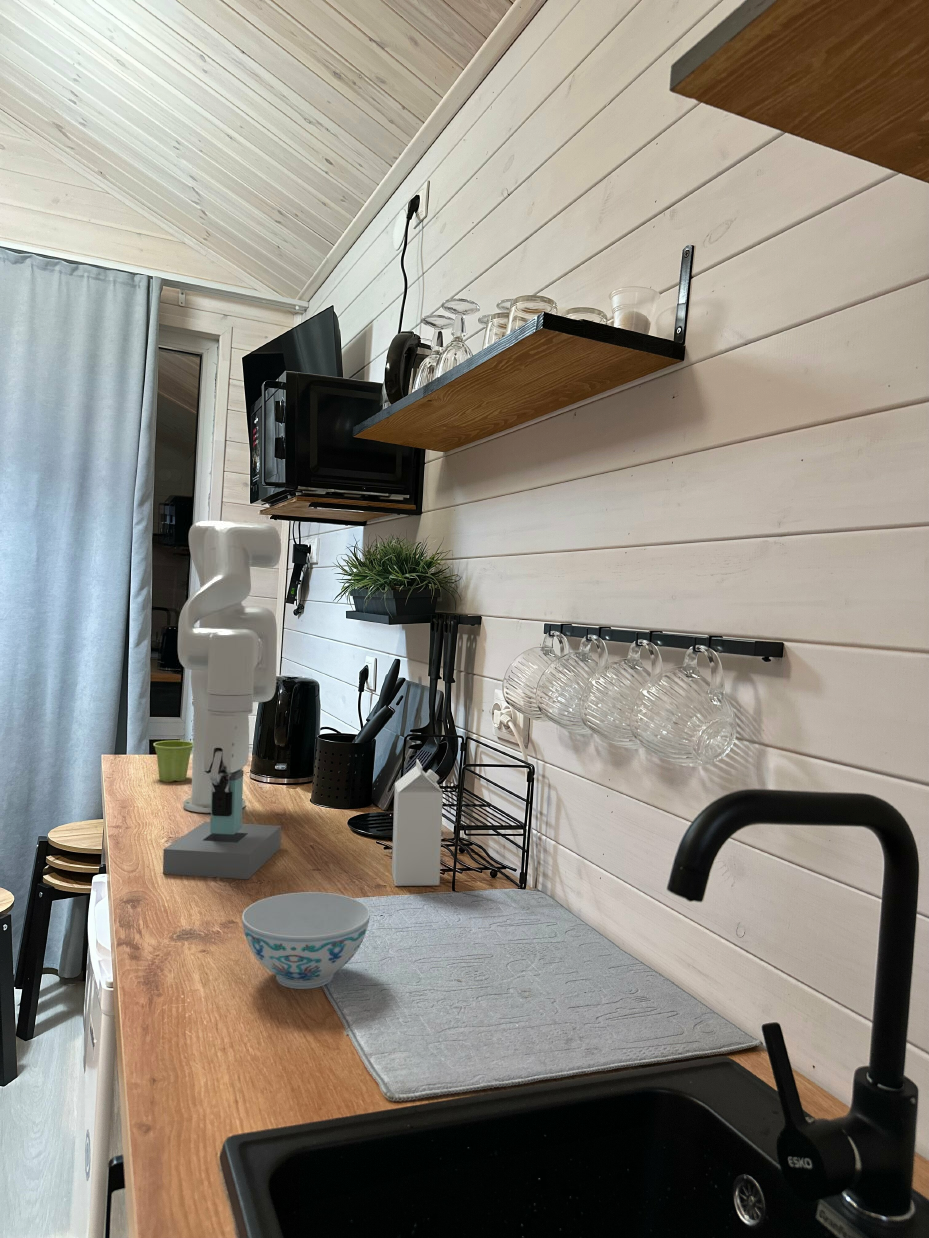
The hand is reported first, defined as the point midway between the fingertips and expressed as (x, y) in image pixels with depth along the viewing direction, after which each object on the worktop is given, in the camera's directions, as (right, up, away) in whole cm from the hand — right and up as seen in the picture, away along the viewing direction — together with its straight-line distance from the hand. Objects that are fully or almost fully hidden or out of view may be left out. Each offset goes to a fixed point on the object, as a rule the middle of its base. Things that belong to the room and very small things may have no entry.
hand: (226, 811), depth 151 cm
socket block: (0, -8, 0) cm, 8 cm away
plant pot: (-30, -6, +63) cm, 70 cm away
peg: (0, -3, 0) cm, 3 cm away
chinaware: (+21, -10, -44) cm, 50 cm away
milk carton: (+32, -10, -6) cm, 34 cm away
